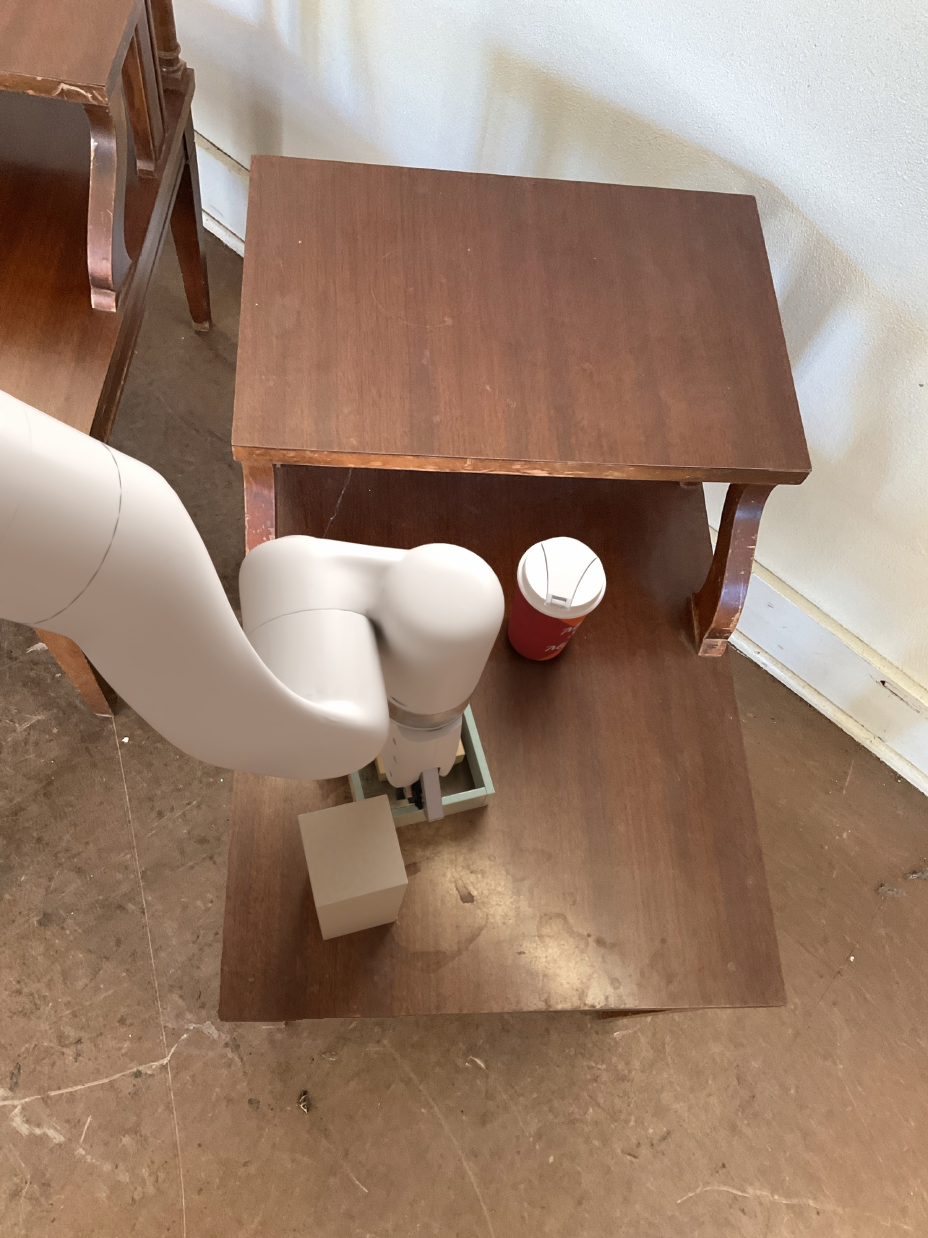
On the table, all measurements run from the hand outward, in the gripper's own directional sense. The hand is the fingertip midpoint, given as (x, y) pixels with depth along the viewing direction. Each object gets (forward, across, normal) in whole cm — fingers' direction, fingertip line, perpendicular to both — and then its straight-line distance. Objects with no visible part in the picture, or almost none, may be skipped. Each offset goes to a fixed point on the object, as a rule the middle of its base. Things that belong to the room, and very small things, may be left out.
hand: (402, 750), depth 78 cm
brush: (+4, 0, +1) cm, 4 cm away
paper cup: (+4, -9, +16) cm, 19 cm away
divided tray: (+4, -5, +1) cm, 7 cm away
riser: (+5, +10, -6) cm, 13 cm away
